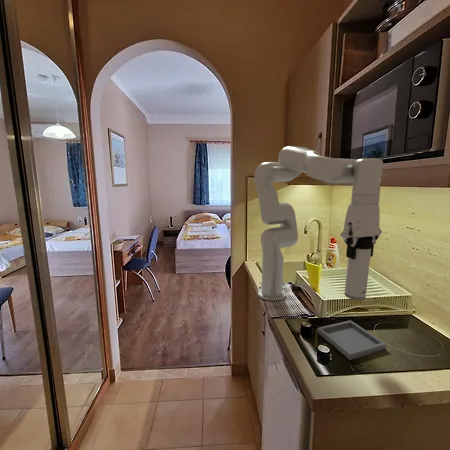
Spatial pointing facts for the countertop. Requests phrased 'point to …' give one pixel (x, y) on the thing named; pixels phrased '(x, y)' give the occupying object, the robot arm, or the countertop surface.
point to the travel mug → (358, 270)
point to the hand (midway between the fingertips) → (359, 256)
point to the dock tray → (351, 339)
